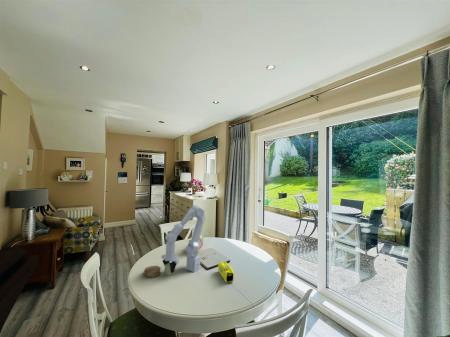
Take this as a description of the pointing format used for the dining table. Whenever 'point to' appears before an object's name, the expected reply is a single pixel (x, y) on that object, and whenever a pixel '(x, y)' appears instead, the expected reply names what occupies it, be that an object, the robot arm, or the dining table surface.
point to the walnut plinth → (152, 271)
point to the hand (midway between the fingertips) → (169, 271)
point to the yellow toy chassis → (225, 271)
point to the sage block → (168, 269)
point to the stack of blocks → (199, 242)
